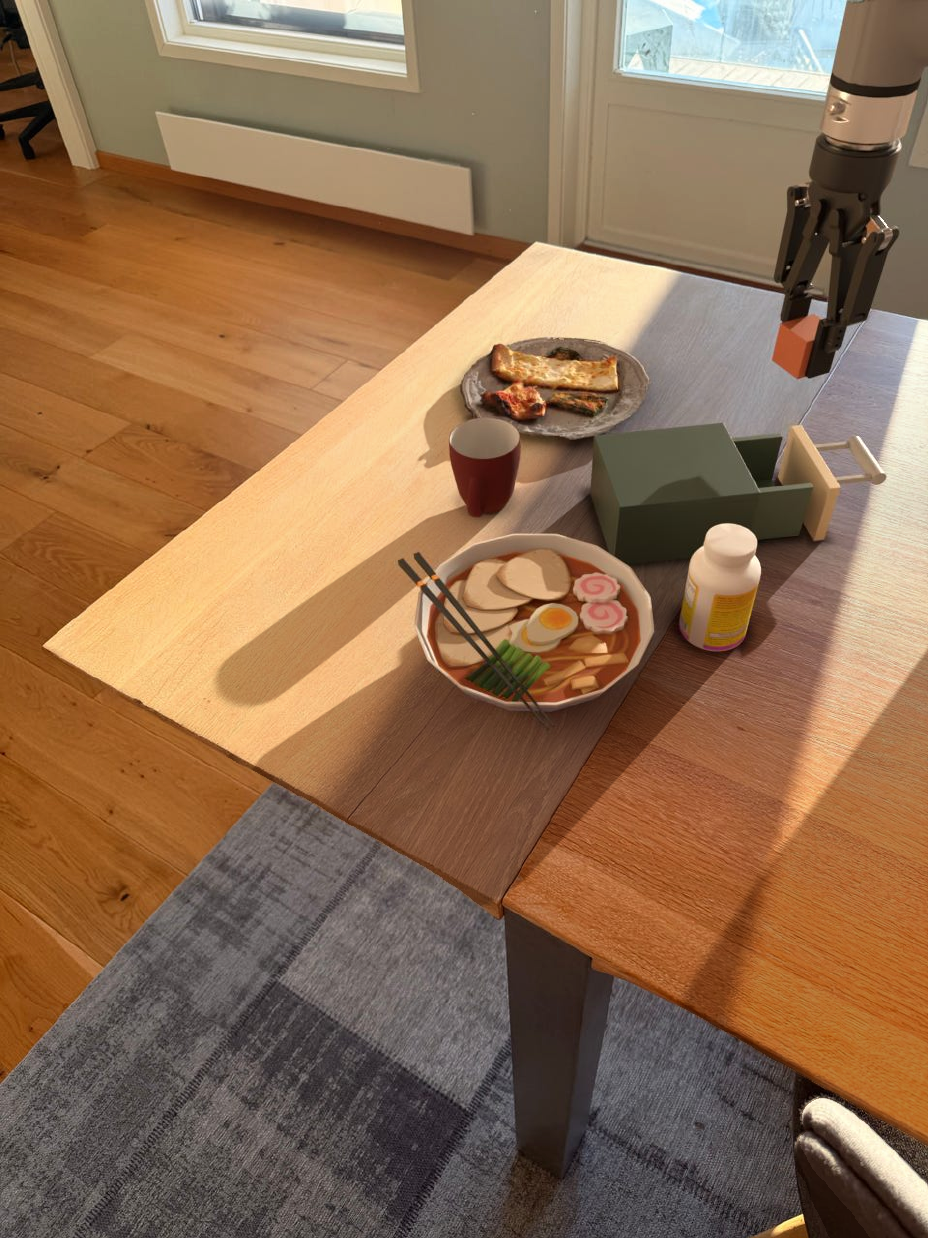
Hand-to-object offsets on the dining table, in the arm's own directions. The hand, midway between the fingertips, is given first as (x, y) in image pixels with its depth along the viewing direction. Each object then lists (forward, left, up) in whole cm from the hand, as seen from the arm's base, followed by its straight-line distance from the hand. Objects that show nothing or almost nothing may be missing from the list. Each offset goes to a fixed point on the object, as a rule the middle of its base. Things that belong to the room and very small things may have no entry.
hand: (801, 362), depth 100 cm
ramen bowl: (-14, +41, -15) cm, 46 cm away
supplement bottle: (-19, +23, -15) cm, 33 cm away
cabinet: (-3, +18, -15) cm, 23 cm away
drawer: (-7, +6, -14) cm, 17 cm away
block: (0, 0, 0) cm, 0 cm away
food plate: (+27, +16, -15) cm, 35 cm away
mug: (+9, +35, -15) cm, 39 cm away
